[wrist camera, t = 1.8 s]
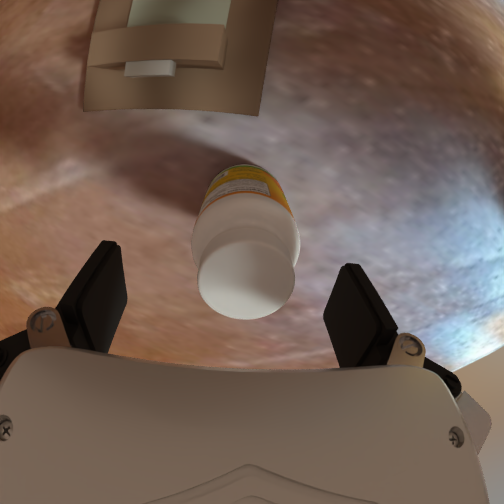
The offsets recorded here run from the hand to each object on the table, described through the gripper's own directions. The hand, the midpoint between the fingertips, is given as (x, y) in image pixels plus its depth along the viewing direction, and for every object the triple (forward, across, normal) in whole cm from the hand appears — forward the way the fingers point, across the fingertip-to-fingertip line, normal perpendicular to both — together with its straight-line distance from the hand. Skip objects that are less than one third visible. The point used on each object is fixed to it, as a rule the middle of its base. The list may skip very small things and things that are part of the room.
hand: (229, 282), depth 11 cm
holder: (+10, +5, -14) cm, 18 cm away
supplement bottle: (+10, -1, 0) cm, 10 cm away
